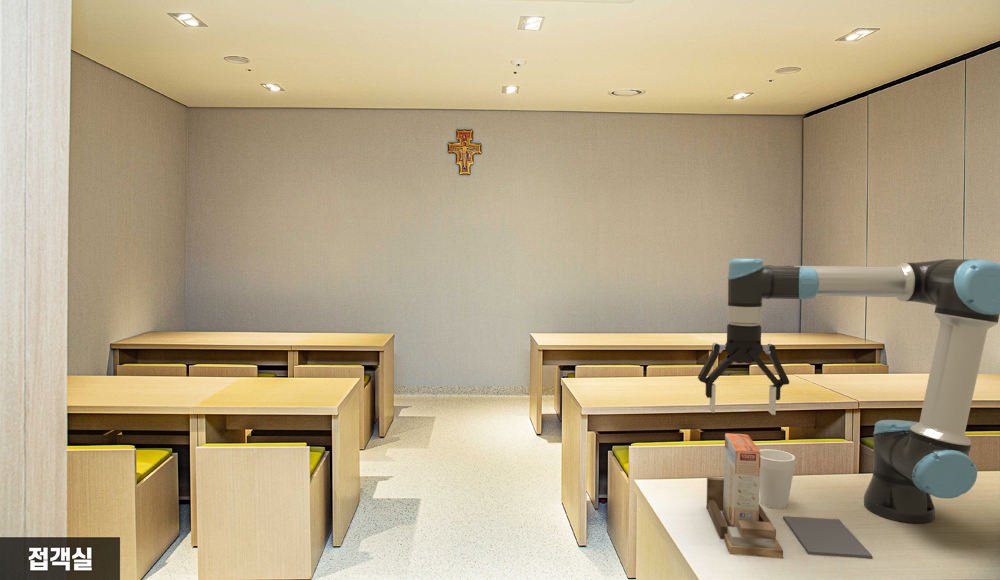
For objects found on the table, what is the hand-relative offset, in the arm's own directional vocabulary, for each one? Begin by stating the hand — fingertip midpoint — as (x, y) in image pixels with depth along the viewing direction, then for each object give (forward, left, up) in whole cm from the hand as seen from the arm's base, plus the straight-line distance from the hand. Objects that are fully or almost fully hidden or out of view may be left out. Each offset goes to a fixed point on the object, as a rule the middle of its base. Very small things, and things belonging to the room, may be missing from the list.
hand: (741, 412), depth 144 cm
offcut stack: (0, +11, -28) cm, 30 cm away
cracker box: (0, 0, -28) cm, 28 cm away
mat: (-18, +3, -28) cm, 33 cm away
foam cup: (-12, -15, -28) cm, 34 cm away
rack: (0, -1, -28) cm, 28 cm away
